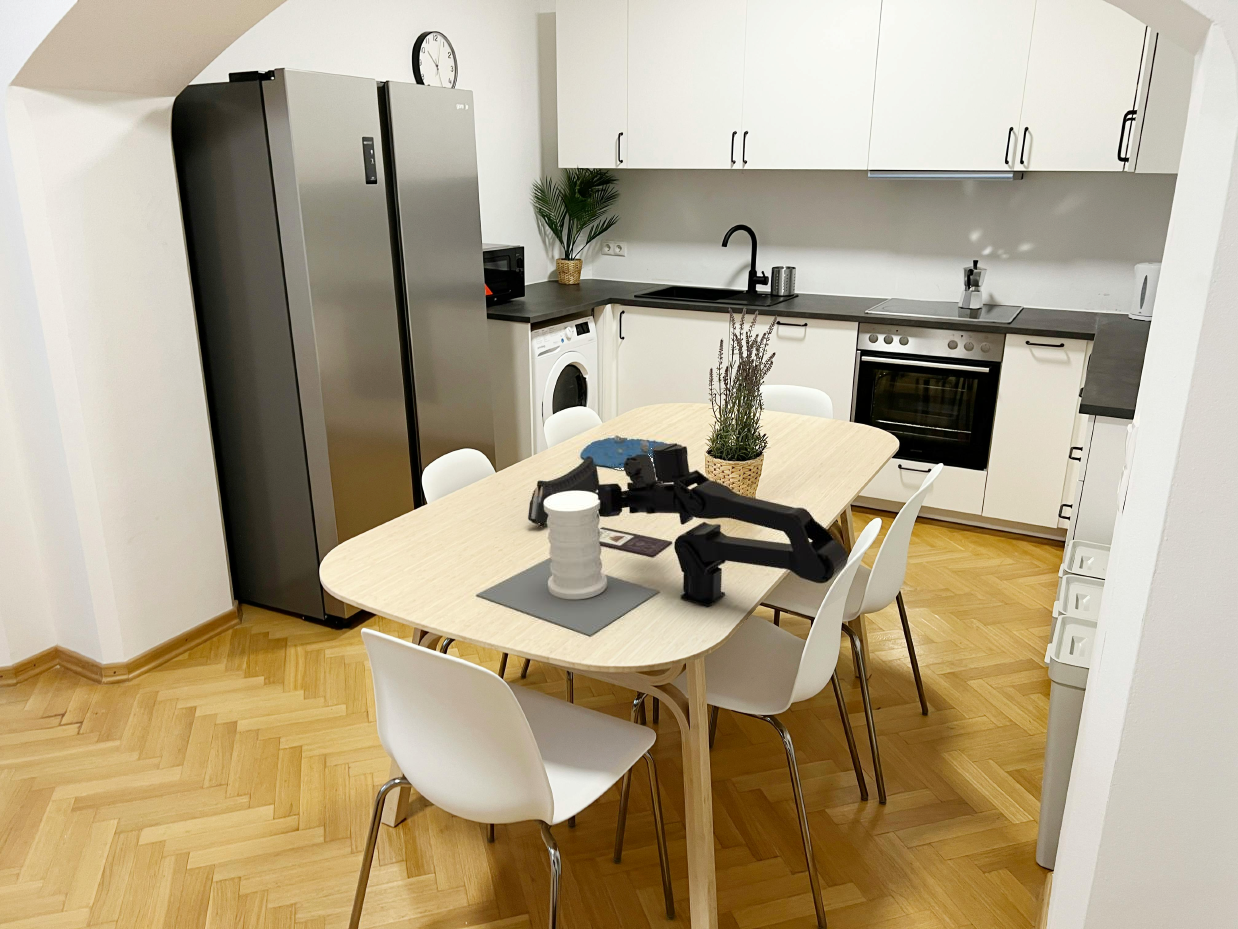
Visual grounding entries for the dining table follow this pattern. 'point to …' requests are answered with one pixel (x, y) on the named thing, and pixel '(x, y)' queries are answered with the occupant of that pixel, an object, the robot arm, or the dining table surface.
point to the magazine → (563, 488)
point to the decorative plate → (618, 450)
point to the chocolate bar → (632, 542)
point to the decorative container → (574, 545)
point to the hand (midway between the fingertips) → (598, 497)
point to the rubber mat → (567, 600)
